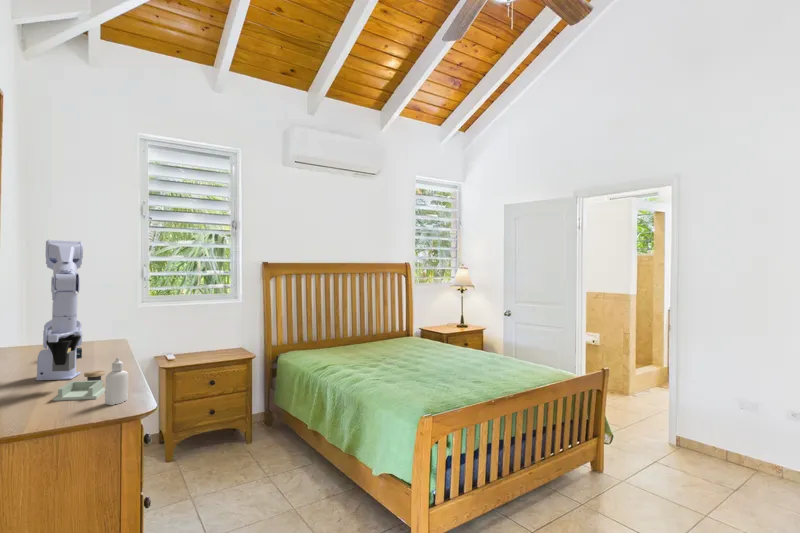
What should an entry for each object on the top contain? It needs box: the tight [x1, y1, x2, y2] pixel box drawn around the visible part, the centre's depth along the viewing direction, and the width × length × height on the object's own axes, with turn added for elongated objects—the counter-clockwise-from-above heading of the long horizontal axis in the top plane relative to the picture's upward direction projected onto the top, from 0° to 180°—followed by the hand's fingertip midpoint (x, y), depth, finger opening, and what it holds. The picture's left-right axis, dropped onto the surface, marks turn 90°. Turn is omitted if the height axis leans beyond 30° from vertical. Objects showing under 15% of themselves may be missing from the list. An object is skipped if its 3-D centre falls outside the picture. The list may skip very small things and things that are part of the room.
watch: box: [76, 334, 83, 359], centre depth 170 cm, size 6×8×11 cm
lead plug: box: [52, 348, 75, 371], centre depth 130 cm, size 4×4×6 cm
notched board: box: [52, 379, 105, 402], centre depth 126 cm, size 10×8×3 cm
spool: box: [83, 370, 105, 387], centre depth 135 cm, size 5×5×4 cm
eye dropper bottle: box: [104, 356, 129, 406], centre depth 121 cm, size 4×6×12 cm
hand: (63, 362), depth 130 cm, fingers closed on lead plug, 4 cm apart
